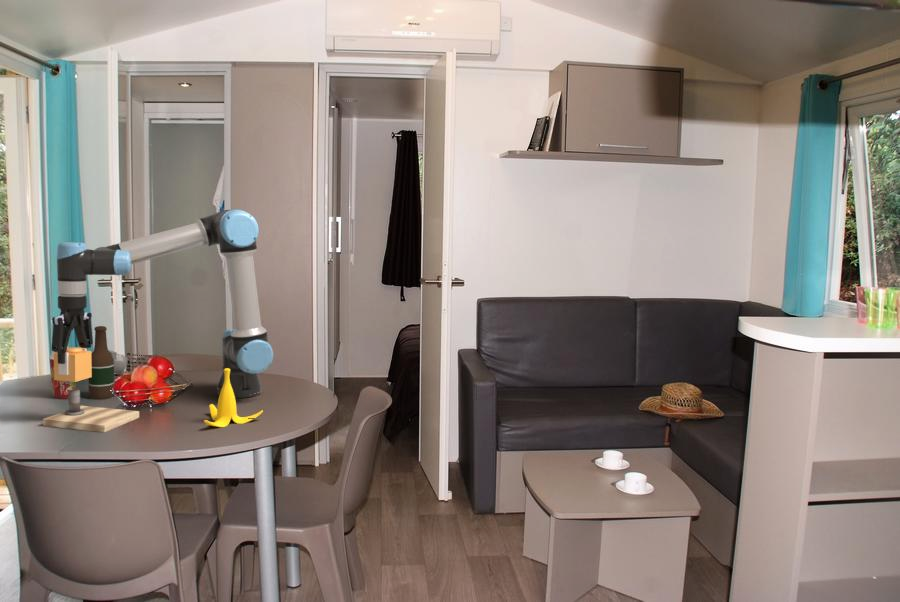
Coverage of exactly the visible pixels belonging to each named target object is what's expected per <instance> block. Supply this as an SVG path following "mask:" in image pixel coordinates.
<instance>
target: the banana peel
mask: <svg viewBox="0 0 900 602" xmlns="http://www.w3.org/2000/svg"><path fill="white" fill-rule="evenodd" d="M224 375H225V379H224V384H223V387H222V389H221V392H220V395H218V396H219V397H218V399H217V406H215V405H214V404H213V403H211V404H209V405H208V408H209V412H210V417H211V419H212V421H209V420H207V419H204V420H203V422H204V424H205V425H206V426H211V427H218V428H225V427H228V425H229V424H230V422H231V420H232V421H233V422H234V424H237V425H239V424H246V423H249V422H251V421H253V420H254V419H248V418H255V419H256V418H257V417H259V416H260V415H261V414H263V412H264V410H263V409H262V410H260V411H259V412H256V413H255V414H252V415H249V416H243V417H242V416H239V415H238V413H237V412H238V411H237V401H236V398H235V396H234V392H233V389H232V387H231V384H230V379H229V375H230V369H229V368H226V369H224Z"/></svg>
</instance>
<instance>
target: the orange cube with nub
mask: <svg viewBox="0 0 900 602" xmlns="http://www.w3.org/2000/svg"><path fill="white" fill-rule="evenodd" d="M68 347H69V348H67V350H66V352H67V353H69V375H61V374H59V364H58V353H57V352H56V353H54V380H60V381H71V382H76V383H77V382H79V381H82V380H84V381H85V380H86V379H88V378H90V377H92V359H91V354H92V350H87V351H86V350H82V348H81V347H79V346H77V347H75V346H72V347H70V346H68Z"/></svg>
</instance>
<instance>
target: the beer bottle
mask: <svg viewBox="0 0 900 602" xmlns="http://www.w3.org/2000/svg"><path fill="white" fill-rule="evenodd" d="M107 330H108V329H107V326H104V325H97V326H95V327H94V332H95V333H94V345H93V347H94V348H93V351H91V359H92V377H90V378H87V379H88V397H89V399H91V400H106V399H111V398H114V397H115V393H114V394H112V392H111V391H110V390H112V388H113V384H114V385H115V376H114V375H115V374H114V361H113V357H112V355H111V353H110V352H109V351H108V350H109V349H108V340H107Z"/></svg>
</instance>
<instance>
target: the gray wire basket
mask: <svg viewBox="0 0 900 602" xmlns="http://www.w3.org/2000/svg"><path fill="white" fill-rule="evenodd" d="M108 351H109V352H110V353H111V355H112V357H113V361H114V373H116V374H114V377H115V375H118V376H121V375H123V374H124V372H125V369H126V371H127V373H131V372H132V369H131V368H137V365H136V366H135V365H131V359H130V357H131V356H135V357H132V360H134V361H132V364H137V361H135V360H138V364H139V365H140V364H141V365H148V364H149V362H148V361H147V362H145V361H146V358H144V357H154V356H155V357H156V356H157V355H155V354H154V355H153V354H152V355H150V354H135V353H133V354H131V353H130V352H128V353H127V354H126V356H125V355H124V354H119V353H118V352H116V351H113V350H110V349H108ZM136 356H138V357H137V358H136ZM140 356H141V357H143V358H140ZM141 360H143V362H142V361H141ZM120 374H121V375H120Z"/></svg>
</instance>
